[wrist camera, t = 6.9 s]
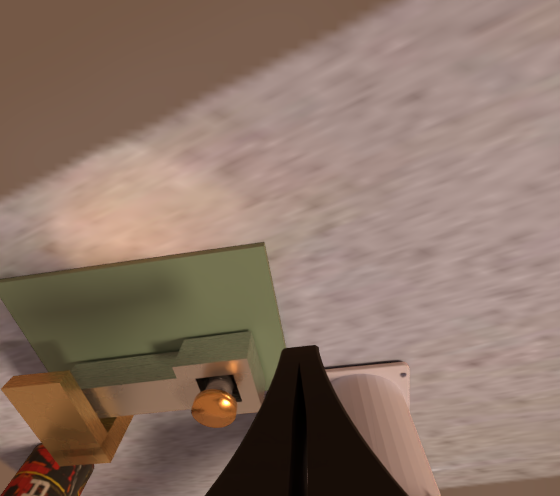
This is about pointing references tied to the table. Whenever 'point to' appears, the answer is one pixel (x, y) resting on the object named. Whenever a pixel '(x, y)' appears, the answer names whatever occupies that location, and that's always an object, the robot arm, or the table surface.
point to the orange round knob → (216, 402)
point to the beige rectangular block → (174, 377)
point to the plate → (148, 307)
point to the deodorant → (48, 477)
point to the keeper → (65, 418)
